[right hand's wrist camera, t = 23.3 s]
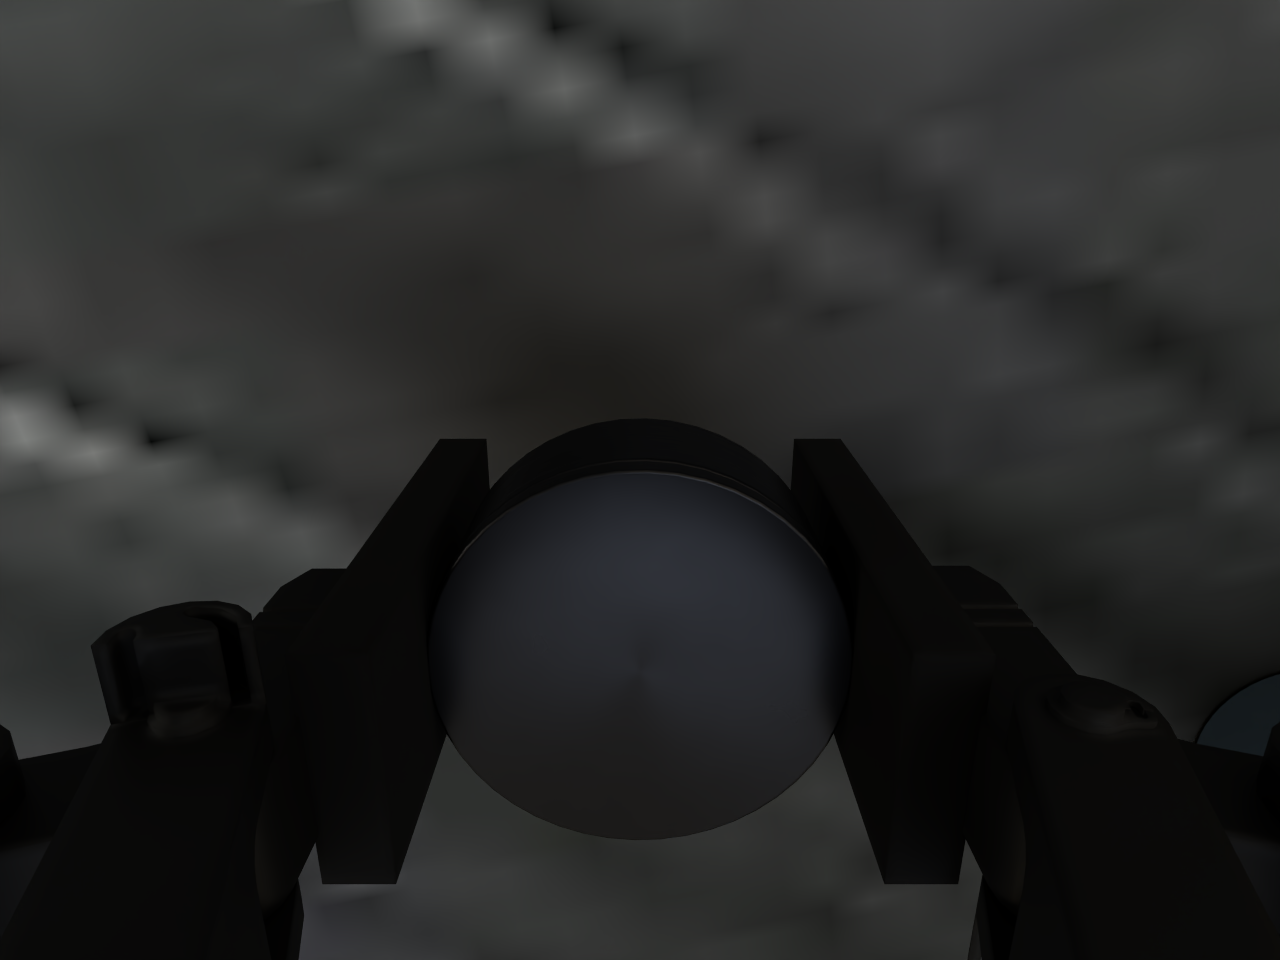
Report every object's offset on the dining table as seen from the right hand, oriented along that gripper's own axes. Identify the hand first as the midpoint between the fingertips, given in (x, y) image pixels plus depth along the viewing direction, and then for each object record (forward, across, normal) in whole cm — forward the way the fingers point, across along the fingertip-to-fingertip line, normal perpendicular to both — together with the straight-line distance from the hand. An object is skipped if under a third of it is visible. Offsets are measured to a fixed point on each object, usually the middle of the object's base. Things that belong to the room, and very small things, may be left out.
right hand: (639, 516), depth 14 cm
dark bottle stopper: (-4, 0, 0) cm, 4 cm away
